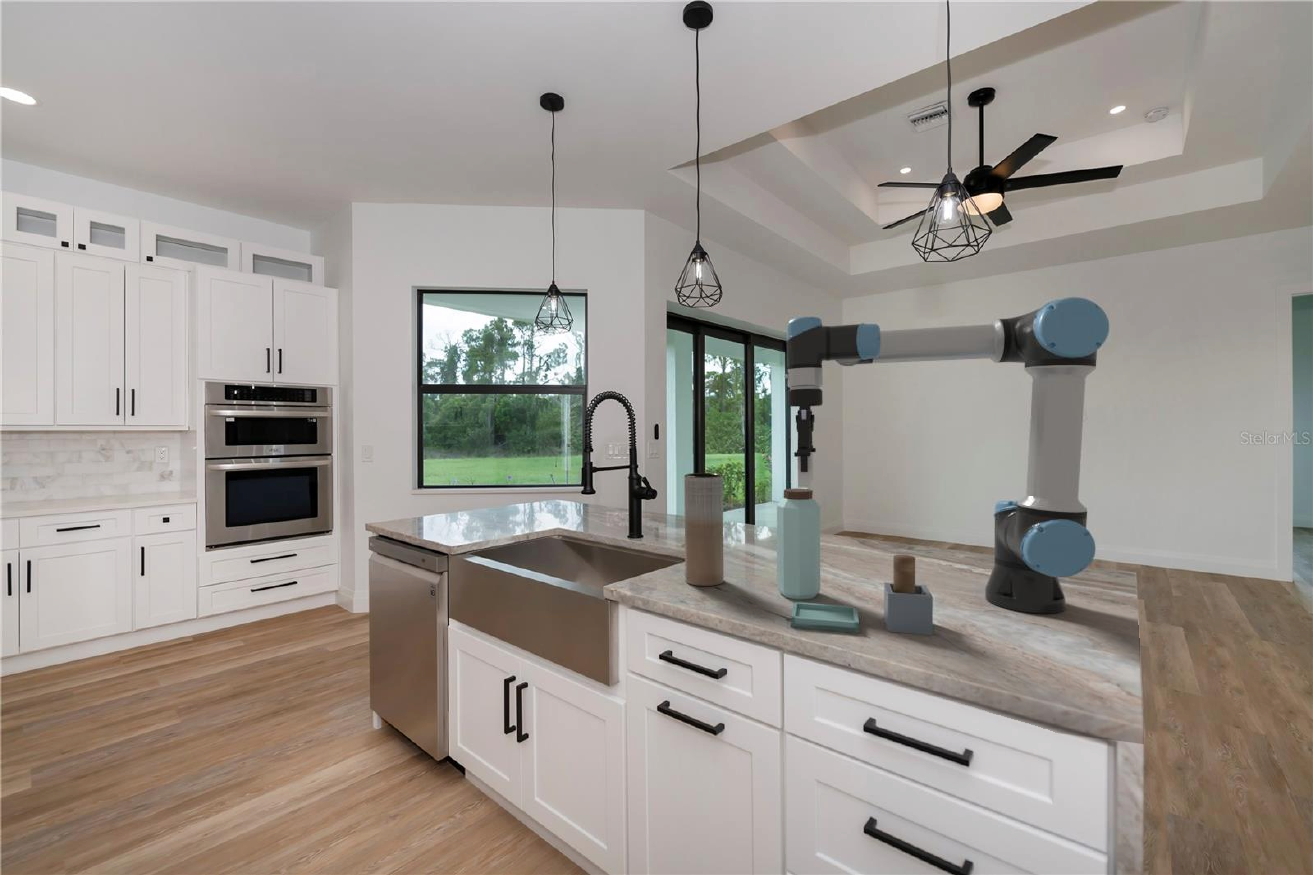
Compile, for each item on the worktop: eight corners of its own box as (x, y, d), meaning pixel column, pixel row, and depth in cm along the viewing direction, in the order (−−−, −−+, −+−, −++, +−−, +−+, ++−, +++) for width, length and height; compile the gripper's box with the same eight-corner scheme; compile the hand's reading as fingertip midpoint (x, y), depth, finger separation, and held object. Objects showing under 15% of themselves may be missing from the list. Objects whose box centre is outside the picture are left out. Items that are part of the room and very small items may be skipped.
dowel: (913, 623, 116) (913, 555, 116) (916, 630, 113) (916, 560, 112) (892, 621, 118) (892, 554, 117) (894, 628, 114) (894, 558, 113)
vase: (682, 576, 153) (681, 473, 152) (719, 575, 154) (718, 472, 153) (688, 587, 143) (687, 477, 142) (727, 586, 144) (726, 476, 143)
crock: (925, 621, 118) (925, 585, 117) (932, 635, 110) (932, 596, 110) (884, 617, 120) (884, 582, 120) (888, 631, 112) (888, 593, 112)
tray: (856, 616, 121) (856, 606, 121) (859, 633, 111) (859, 623, 111) (793, 610, 125) (793, 601, 125) (790, 627, 115) (790, 617, 115)
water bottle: (822, 601, 131) (821, 493, 130) (777, 599, 133) (776, 492, 132) (818, 589, 140) (818, 487, 140) (777, 587, 142) (776, 487, 142)
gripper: (791, 391, 140) (792, 477, 140) (783, 386, 116) (784, 490, 117) (823, 390, 137) (824, 478, 138) (821, 384, 114) (822, 491, 114)
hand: (806, 484), depth 127 cm, fingers open, 13 cm apart
